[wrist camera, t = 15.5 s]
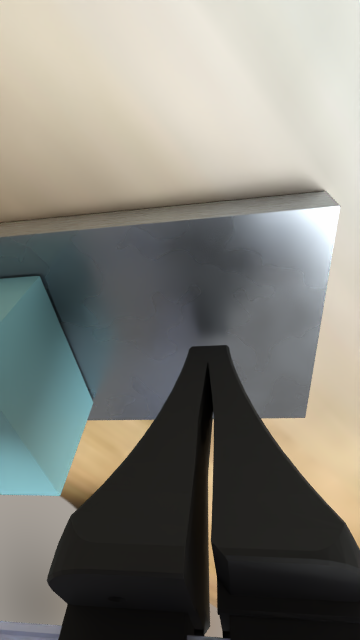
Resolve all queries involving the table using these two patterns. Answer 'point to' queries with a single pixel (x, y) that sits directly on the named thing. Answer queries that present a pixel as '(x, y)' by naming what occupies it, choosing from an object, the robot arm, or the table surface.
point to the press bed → (185, 295)
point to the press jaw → (36, 393)
